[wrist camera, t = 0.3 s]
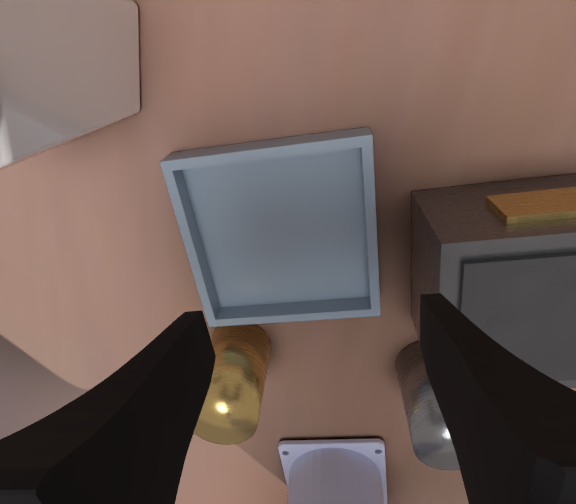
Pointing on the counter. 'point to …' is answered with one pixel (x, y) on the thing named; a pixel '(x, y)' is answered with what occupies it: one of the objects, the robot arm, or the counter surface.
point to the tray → (280, 227)
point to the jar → (64, 72)
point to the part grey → (424, 412)
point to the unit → (503, 264)
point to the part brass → (235, 384)
